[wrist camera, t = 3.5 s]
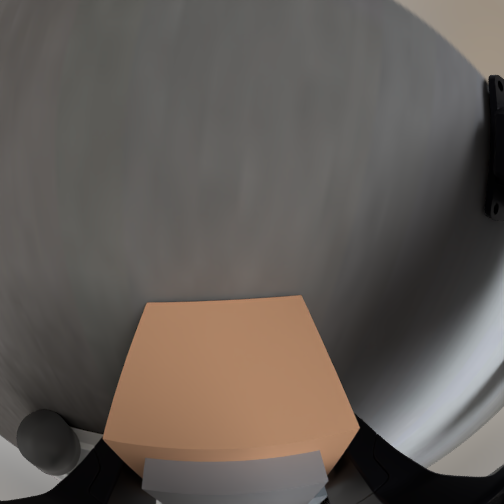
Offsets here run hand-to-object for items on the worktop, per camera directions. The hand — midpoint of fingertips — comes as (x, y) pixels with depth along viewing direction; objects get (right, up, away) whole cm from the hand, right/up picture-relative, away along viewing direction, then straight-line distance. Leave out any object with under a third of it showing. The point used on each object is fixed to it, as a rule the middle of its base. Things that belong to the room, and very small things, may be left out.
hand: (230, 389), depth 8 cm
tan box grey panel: (0, +1, +1) cm, 1 cm away
